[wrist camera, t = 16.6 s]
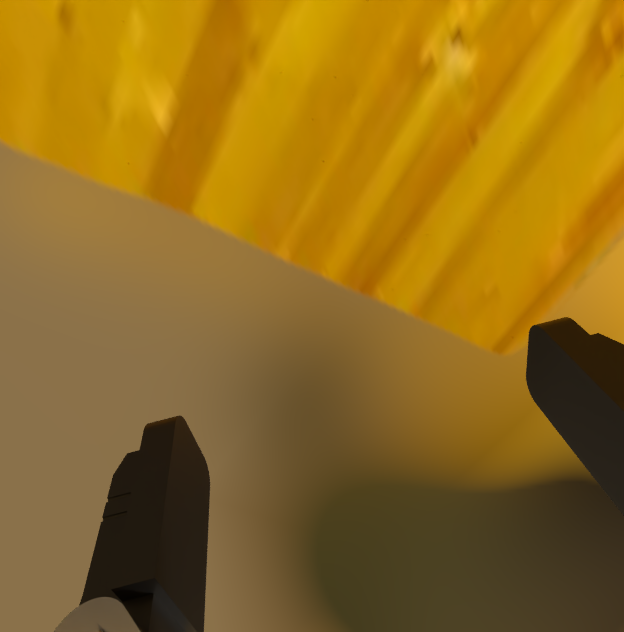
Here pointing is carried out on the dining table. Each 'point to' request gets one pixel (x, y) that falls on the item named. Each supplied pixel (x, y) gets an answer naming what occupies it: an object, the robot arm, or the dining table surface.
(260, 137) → the dining table surface
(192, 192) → the dining table surface
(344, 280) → the dining table surface
